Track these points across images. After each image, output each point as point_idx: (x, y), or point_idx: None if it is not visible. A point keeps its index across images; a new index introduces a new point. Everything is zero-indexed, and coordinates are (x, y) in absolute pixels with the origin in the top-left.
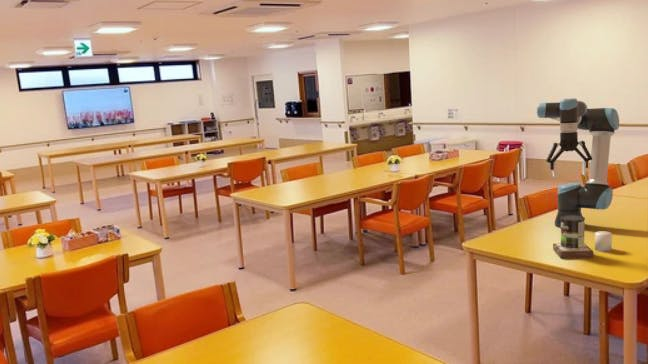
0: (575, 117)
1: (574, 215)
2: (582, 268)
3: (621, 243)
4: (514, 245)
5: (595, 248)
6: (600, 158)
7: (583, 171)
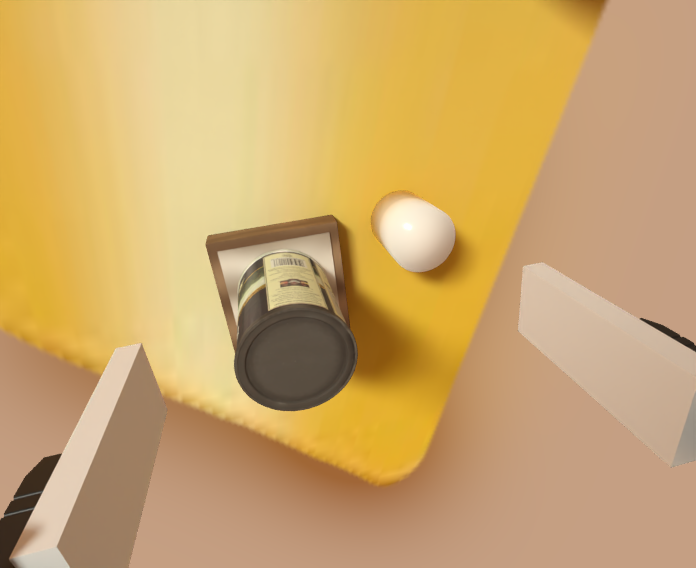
0: None
1: (314, 317)
2: (297, 416)
3: (486, 129)
4: (10, 177)
5: (372, 227)
6: None
7: (550, 330)
